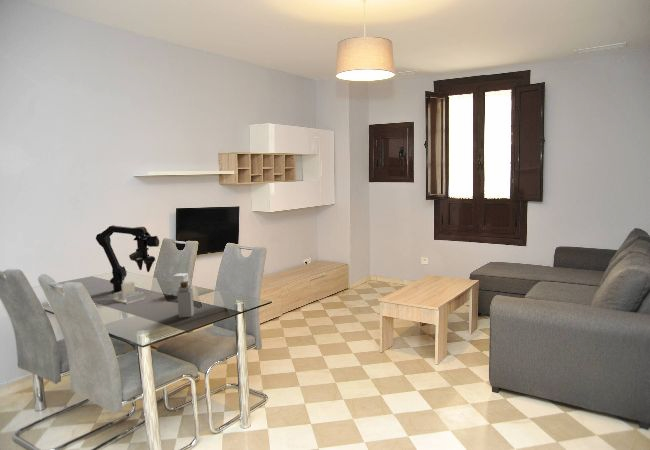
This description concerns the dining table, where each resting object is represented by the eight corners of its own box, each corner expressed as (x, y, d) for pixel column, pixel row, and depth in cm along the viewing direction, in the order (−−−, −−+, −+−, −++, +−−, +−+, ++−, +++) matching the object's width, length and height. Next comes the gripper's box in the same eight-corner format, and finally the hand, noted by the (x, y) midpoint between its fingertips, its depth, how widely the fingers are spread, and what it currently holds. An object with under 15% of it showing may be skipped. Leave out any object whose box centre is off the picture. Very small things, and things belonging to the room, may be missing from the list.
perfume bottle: (181, 313, 269) (178, 281, 266) (194, 312, 269) (191, 280, 267) (178, 317, 262) (176, 284, 260) (191, 316, 263) (189, 283, 260)
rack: (113, 299, 299) (112, 293, 298) (131, 294, 308) (131, 288, 307) (126, 303, 289) (126, 297, 289) (145, 298, 299) (144, 292, 298)
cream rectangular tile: (122, 298, 297) (121, 284, 295) (133, 295, 302) (132, 281, 301) (124, 299, 295) (123, 284, 294) (135, 296, 301) (134, 282, 299)
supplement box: (184, 296, 301) (183, 276, 300) (173, 296, 303) (171, 275, 301) (190, 292, 309) (188, 273, 307) (179, 292, 310) (177, 272, 308)
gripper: (122, 247, 312) (125, 271, 314) (138, 250, 300) (140, 275, 302) (139, 244, 321) (141, 268, 323) (154, 247, 309) (156, 272, 311)
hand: (144, 271), depth 315 cm, fingers open, 9 cm apart
